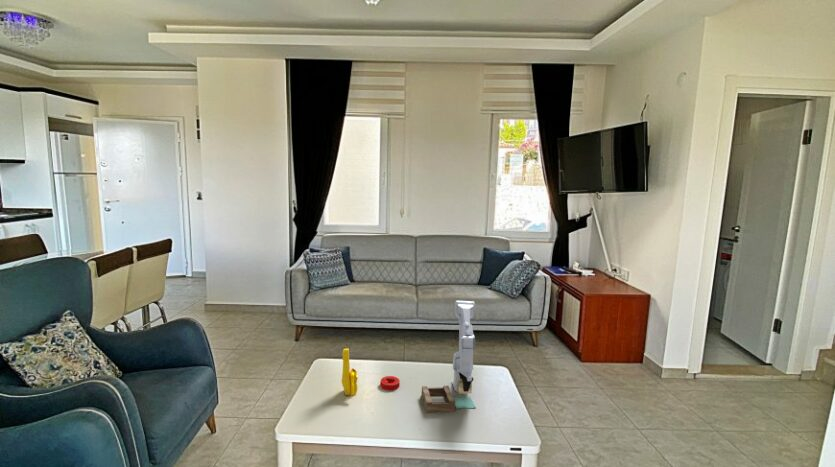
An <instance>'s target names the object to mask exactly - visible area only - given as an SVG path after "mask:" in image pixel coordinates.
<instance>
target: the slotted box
mask: <svg viewBox="0 0 835 467" xmlns="http://www.w3.org/2000/svg"><path fill="white" fill-rule="evenodd" d="M449 386H450V385H443V386H441V387H428V386H427V385H426V386H425V385H424V386H423V385H422V386H421V400H422V403H423V406H424V409H425V414H436V413H437V414H438V412H443V413H455V412H456V406H455V400H454V398H455V397H454V395H453V393H452V391H451V388H450V387H449Z"/></svg>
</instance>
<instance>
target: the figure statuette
mask: <svg viewBox="0 0 835 467" xmlns="http://www.w3.org/2000/svg"><path fill="white" fill-rule="evenodd" d="M350 365H351V364H350V349H349V348H343V350H342V374H341V375H342V376H341V384H342V387H343V390H344V396H351V397H352V396H356V395H357V392H358V378H359V376H358V373H357V370H356V369H355V368H351V369H350Z"/></svg>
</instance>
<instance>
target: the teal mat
mask: <svg viewBox="0 0 835 467" xmlns="http://www.w3.org/2000/svg"><path fill="white" fill-rule="evenodd" d="M454 400H455V409H456V410H460V409H459V408H470V409H477V407H476V405H475V403H474V402H473V399H472V397H454Z"/></svg>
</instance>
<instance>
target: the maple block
mask: <svg viewBox="0 0 835 467" xmlns="http://www.w3.org/2000/svg"><path fill="white" fill-rule="evenodd" d="M472 388H473V382H472V383H471V385H470V388H469V391H467V392H464V390H463V382H462V379H457V391H456V392H458V394H459V395H460V394H464V395H465V394H472Z"/></svg>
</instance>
